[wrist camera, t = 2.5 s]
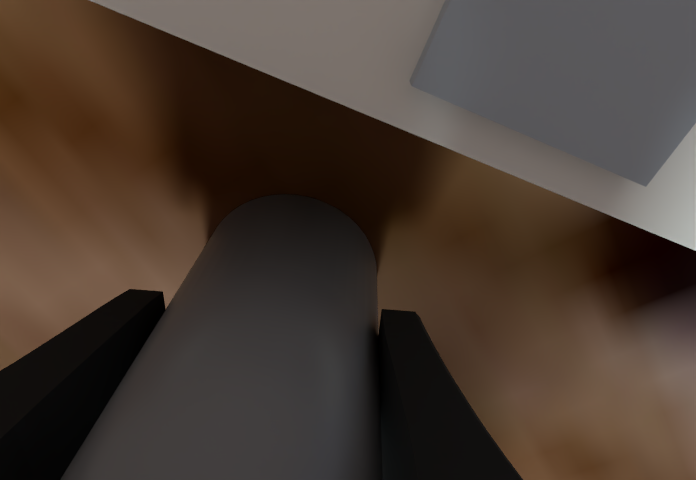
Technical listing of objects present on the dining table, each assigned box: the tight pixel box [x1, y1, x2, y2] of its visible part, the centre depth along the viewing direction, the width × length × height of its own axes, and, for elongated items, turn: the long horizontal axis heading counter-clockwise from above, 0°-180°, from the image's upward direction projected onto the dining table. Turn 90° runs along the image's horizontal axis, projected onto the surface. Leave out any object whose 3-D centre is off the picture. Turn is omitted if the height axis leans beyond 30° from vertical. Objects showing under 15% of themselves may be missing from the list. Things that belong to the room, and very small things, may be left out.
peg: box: [60, 194, 383, 480], centre depth 7 cm, size 4×4×8 cm
